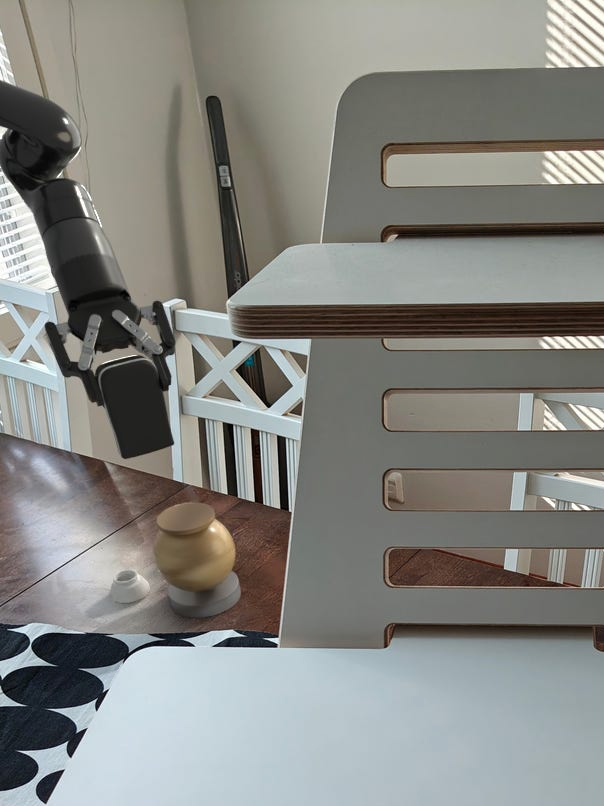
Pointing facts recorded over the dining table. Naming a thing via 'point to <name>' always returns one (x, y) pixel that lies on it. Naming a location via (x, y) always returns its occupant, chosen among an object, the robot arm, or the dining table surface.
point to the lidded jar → (196, 560)
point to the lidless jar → (128, 587)
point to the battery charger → (134, 405)
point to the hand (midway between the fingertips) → (133, 395)
